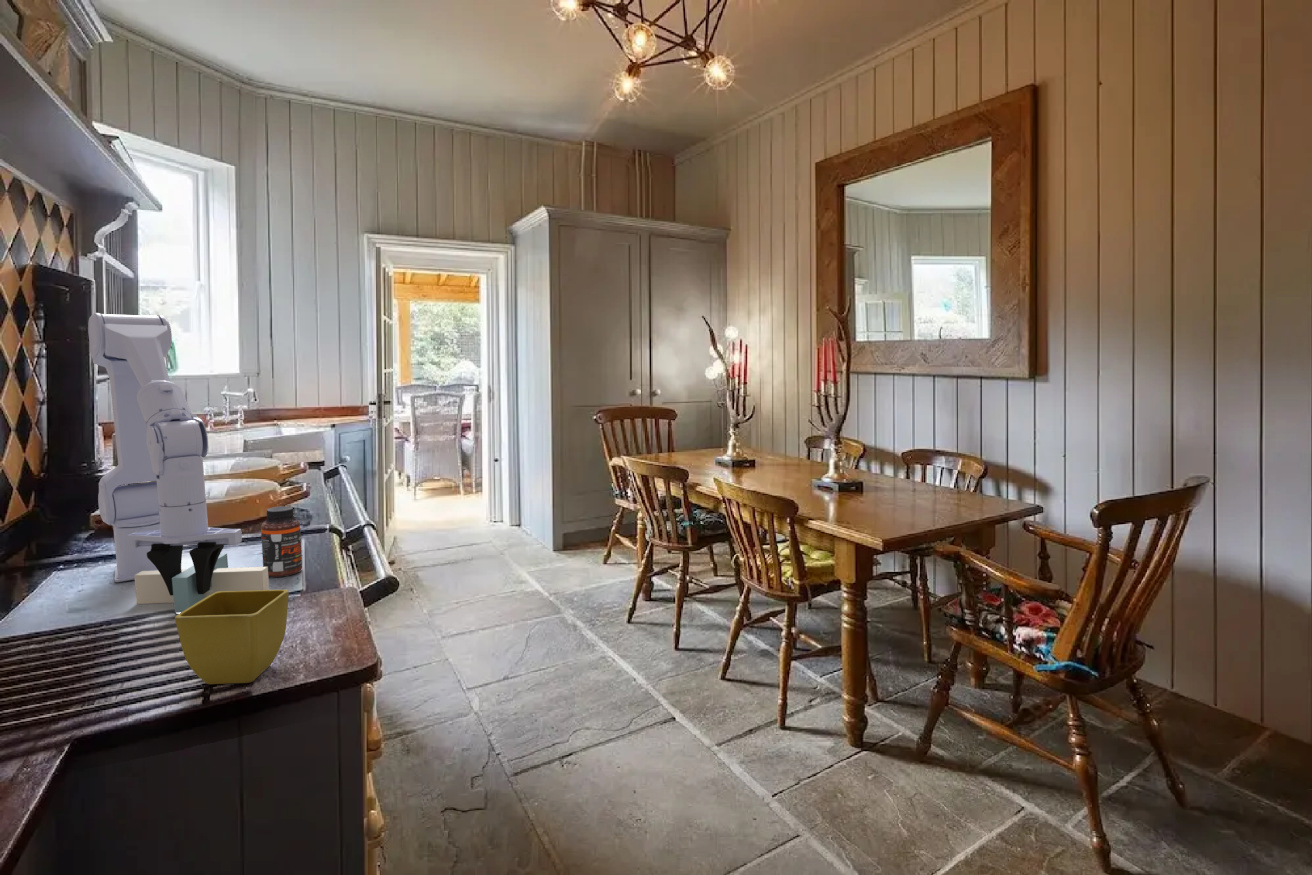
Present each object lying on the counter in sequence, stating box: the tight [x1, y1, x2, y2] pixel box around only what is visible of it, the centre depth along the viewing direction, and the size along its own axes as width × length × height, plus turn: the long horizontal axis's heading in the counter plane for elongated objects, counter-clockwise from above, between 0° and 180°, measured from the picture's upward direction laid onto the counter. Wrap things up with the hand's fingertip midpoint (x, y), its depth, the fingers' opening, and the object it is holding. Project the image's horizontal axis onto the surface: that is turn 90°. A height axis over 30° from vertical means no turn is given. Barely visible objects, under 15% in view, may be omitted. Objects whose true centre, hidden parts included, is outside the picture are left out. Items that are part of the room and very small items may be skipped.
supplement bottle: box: [260, 505, 303, 578], centre depth 118 cm, size 6×6×11 cm
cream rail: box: [134, 566, 270, 605], centre depth 105 cm, size 18×2×4 cm, turn 98°
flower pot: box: [174, 589, 290, 685], centre depth 81 cm, size 9×9×9 cm
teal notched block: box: [172, 553, 229, 613], centre depth 105 cm, size 12×2×6 cm, turn 8°
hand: (190, 592), depth 102 cm, fingers open, 3 cm apart
